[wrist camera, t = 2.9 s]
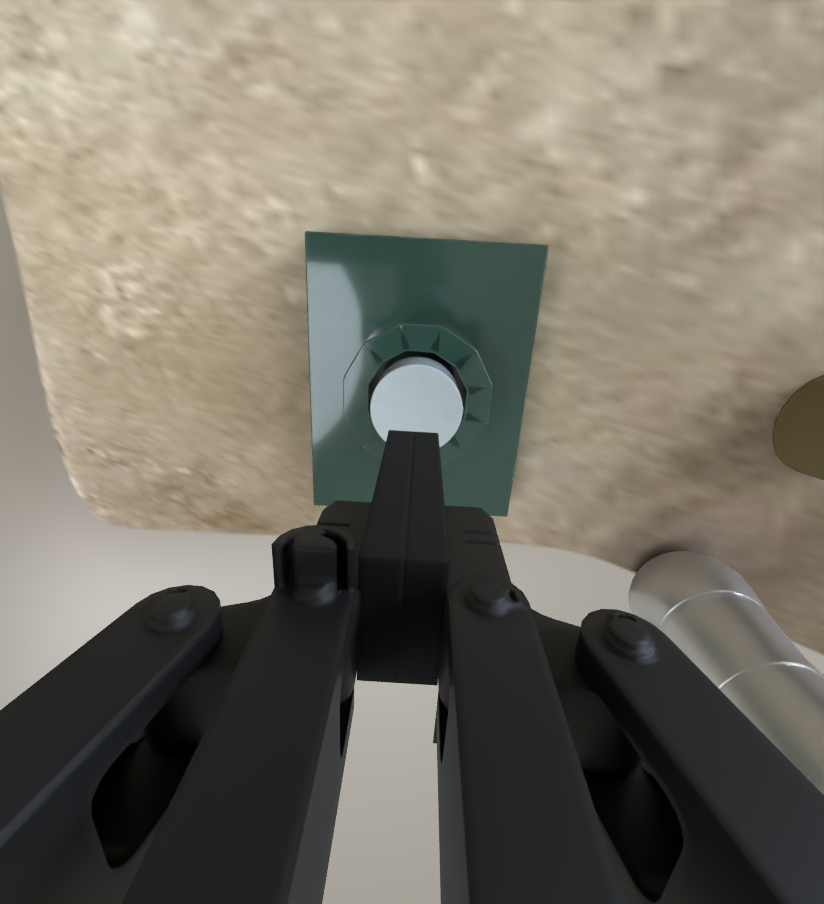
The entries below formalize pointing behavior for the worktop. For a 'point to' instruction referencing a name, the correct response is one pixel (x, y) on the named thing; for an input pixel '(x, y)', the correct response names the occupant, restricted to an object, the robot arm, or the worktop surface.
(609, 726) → the robot arm
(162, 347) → the worktop surface
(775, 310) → the worktop surface
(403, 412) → the white push button
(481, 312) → the green button base
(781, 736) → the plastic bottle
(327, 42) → the worktop surface
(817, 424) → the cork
